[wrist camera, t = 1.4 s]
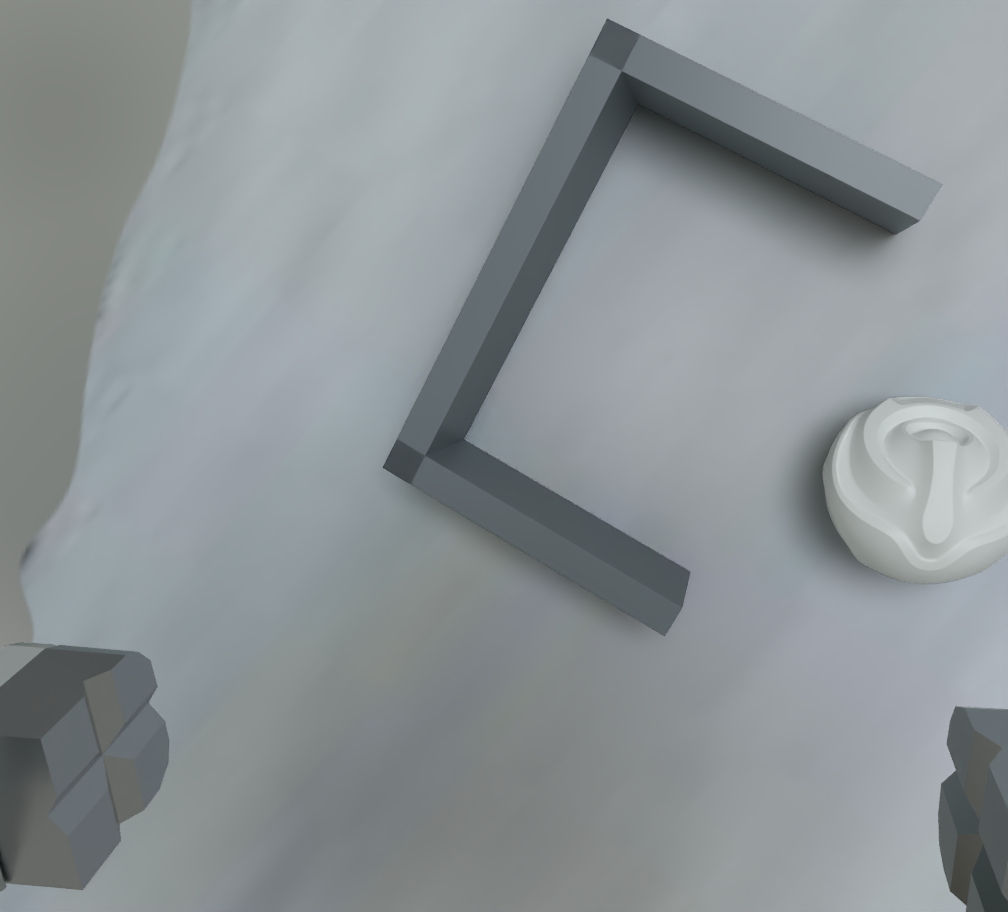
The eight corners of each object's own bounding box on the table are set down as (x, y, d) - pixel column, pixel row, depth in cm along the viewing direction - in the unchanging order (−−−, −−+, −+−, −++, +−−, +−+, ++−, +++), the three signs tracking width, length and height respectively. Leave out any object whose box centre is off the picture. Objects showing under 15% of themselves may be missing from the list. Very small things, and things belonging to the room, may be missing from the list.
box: (915, 203, 41) (942, 184, 36) (674, 597, 46) (664, 636, 41) (625, 58, 43) (607, 18, 38) (425, 450, 49) (382, 467, 43)
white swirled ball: (1016, 402, 41) (1075, 420, 34) (988, 569, 43) (1039, 621, 35) (826, 384, 43) (842, 397, 36) (804, 544, 45) (816, 589, 37)
